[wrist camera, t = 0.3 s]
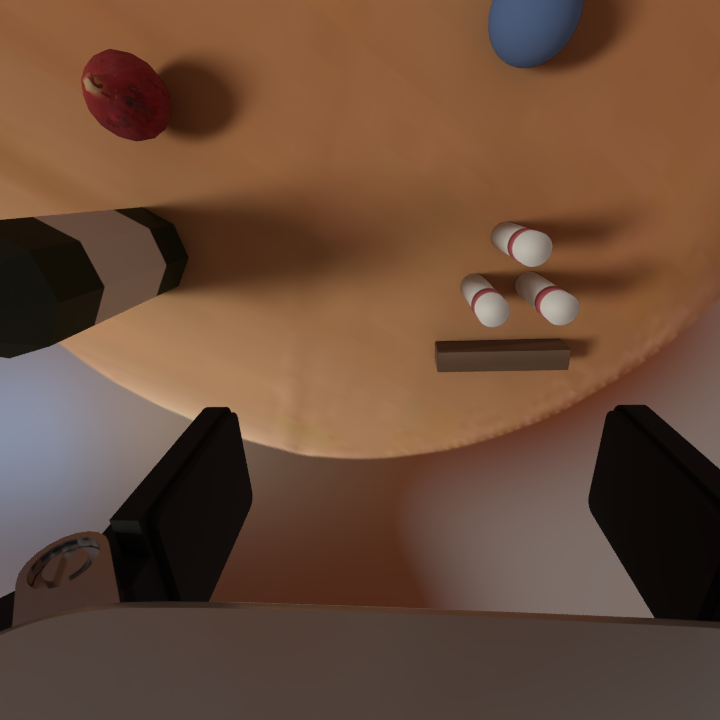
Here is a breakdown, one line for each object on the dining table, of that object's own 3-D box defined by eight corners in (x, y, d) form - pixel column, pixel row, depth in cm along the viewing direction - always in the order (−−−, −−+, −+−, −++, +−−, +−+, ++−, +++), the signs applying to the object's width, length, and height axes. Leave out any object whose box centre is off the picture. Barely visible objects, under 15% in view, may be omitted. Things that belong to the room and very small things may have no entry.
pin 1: (460, 273, 38) (477, 296, 30) (488, 272, 38) (512, 295, 30) (459, 299, 39) (476, 328, 31) (486, 298, 39) (509, 327, 31)
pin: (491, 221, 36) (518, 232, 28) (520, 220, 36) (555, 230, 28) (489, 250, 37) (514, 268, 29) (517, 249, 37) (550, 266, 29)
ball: (483, -18, 30) (503, -63, 24) (568, -26, 29) (609, -75, 24) (478, 80, 32) (496, 58, 27) (557, 73, 32) (591, 50, 26)
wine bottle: (191, 298, 41) (-212, 526, 14) (111, 289, 42) (-442, 495, 14) (185, 212, 38) (-363, 284, 10) (98, 202, 38) (-661, 248, 11)
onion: (197, 91, 34) (143, 66, 27) (174, 158, 36) (118, 151, 29) (132, 49, 33) (58, 11, 26) (112, 120, 35) (39, 103, 28)
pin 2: (515, 271, 38) (547, 294, 30) (543, 270, 38) (582, 292, 30) (513, 297, 39) (543, 326, 31) (540, 297, 39) (577, 325, 31)
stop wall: (435, 341, 41) (438, 352, 38) (558, 338, 40) (571, 350, 37) (434, 359, 42) (437, 372, 39) (556, 357, 41) (567, 369, 38)
